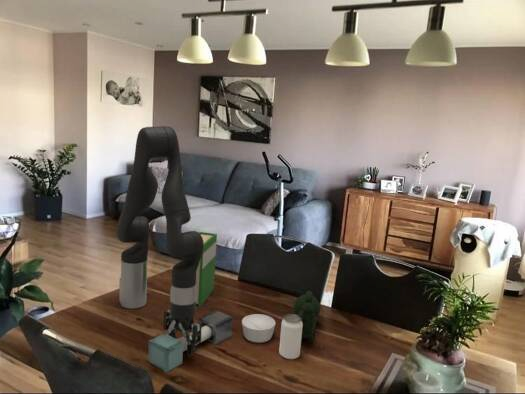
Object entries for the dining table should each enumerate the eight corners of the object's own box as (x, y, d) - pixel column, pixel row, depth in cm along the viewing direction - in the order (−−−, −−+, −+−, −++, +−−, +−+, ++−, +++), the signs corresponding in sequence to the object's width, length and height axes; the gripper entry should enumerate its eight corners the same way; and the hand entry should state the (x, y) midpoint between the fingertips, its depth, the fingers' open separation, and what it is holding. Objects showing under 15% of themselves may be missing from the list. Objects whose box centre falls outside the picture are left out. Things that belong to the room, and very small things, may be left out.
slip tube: (160, 356, 122) (161, 343, 121) (213, 329, 140) (213, 318, 139) (170, 361, 120) (170, 348, 119) (222, 334, 137) (222, 322, 136)
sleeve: (198, 336, 137) (199, 317, 136) (215, 327, 143) (216, 309, 142) (215, 344, 132) (216, 325, 131) (231, 335, 139) (233, 317, 138)
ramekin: (235, 339, 136) (236, 324, 136) (248, 325, 147) (249, 311, 146) (267, 348, 133) (269, 332, 132) (278, 332, 143) (279, 318, 142)
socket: (148, 361, 121) (148, 340, 120) (164, 353, 126) (165, 333, 124) (166, 372, 116) (166, 350, 115) (182, 363, 121) (183, 342, 120)
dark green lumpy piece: (318, 355, 134) (318, 314, 158) (324, 302, 129) (323, 268, 153) (289, 351, 135) (293, 311, 159) (293, 298, 130) (297, 265, 154)
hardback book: (200, 306, 158) (203, 245, 154) (181, 304, 159) (184, 243, 155) (213, 289, 175) (216, 233, 171) (196, 286, 176) (199, 231, 172)
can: (298, 361, 126) (302, 324, 124) (277, 357, 128) (280, 321, 125) (300, 350, 133) (304, 315, 131) (280, 347, 134) (283, 312, 132)
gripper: (157, 294, 124) (155, 345, 127) (190, 310, 115) (188, 364, 118) (176, 287, 130) (174, 336, 133) (209, 302, 121) (206, 353, 124)
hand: (181, 349), depth 125 cm, fingers open, 7 cm apart
